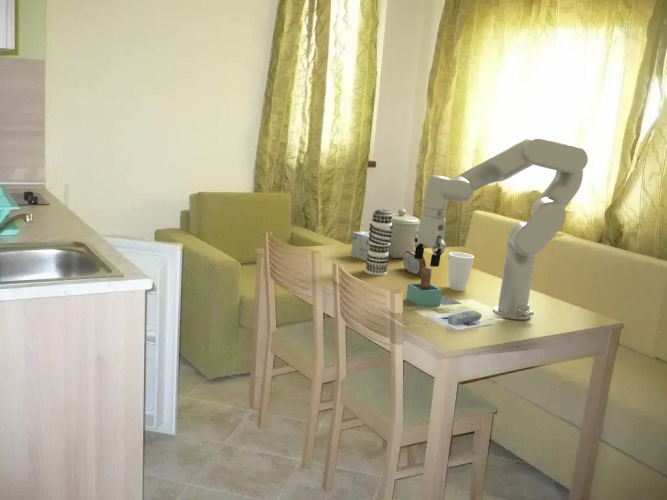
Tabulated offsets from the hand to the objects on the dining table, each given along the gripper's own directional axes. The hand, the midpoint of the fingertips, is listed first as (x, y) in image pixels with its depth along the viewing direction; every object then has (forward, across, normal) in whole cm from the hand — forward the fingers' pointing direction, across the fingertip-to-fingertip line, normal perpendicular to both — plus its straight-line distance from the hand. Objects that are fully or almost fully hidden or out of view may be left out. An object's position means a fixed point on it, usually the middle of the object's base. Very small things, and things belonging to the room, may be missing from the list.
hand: (426, 262), depth 235 cm
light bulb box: (+15, +61, -12) cm, 65 cm away
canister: (+15, +64, -30) cm, 73 cm away
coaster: (+14, 0, -10) cm, 18 cm away
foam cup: (+14, +14, -26) cm, 33 cm away
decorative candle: (+15, +39, -5) cm, 43 cm away
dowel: (+14, 0, -1) cm, 14 cm away
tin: (+15, +37, -21) cm, 46 cm away
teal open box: (+14, -1, -1) cm, 15 cm away
